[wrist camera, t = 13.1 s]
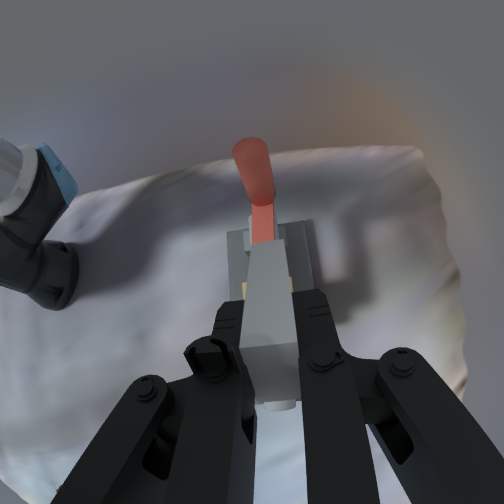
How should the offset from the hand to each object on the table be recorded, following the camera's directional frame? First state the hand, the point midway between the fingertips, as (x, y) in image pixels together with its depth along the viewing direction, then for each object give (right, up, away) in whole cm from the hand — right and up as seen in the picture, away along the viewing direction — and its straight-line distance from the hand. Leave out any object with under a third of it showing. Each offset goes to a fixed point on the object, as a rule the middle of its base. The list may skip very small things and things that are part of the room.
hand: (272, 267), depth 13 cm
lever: (0, +1, +17) cm, 17 cm away
